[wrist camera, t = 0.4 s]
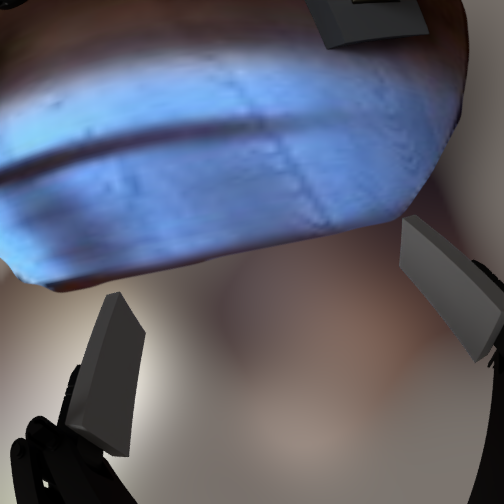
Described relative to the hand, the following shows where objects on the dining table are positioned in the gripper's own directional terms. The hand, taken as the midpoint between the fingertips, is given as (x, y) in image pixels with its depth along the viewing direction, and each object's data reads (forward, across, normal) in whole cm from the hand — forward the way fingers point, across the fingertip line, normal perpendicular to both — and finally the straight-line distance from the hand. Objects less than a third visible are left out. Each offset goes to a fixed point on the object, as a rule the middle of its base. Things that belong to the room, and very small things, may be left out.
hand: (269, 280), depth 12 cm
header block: (+28, +21, +21) cm, 41 cm away
